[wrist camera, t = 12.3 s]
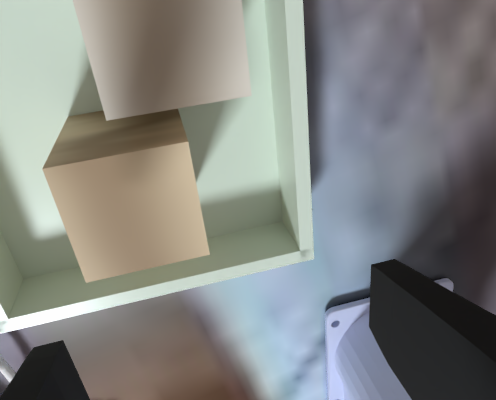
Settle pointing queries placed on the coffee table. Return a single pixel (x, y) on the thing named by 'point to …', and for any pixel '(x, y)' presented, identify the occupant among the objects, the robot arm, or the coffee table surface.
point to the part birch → (164, 53)
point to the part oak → (126, 192)
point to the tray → (202, 154)
